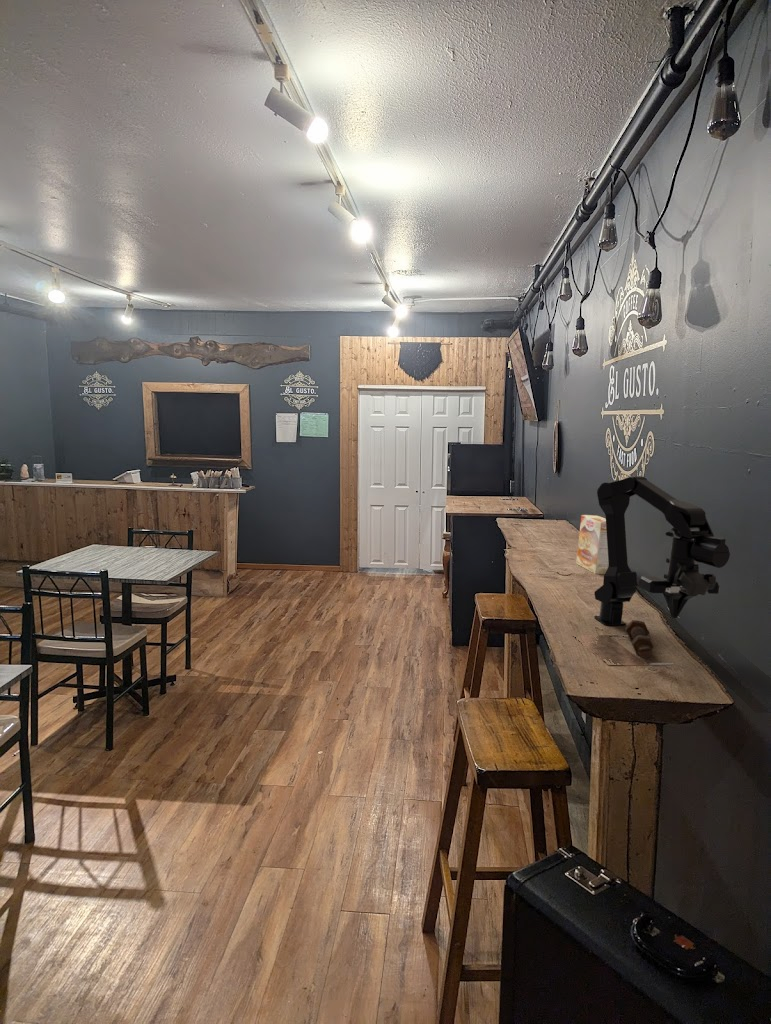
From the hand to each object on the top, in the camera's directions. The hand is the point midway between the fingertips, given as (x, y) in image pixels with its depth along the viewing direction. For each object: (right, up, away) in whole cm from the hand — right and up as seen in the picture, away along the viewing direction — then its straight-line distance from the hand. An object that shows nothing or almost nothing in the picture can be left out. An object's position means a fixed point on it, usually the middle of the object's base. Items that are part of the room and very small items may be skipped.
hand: (674, 617), depth 156 cm
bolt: (-9, -8, 0) cm, 12 cm away
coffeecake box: (+7, +5, +80) cm, 81 cm away
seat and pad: (-14, -8, -1) cm, 16 cm away
